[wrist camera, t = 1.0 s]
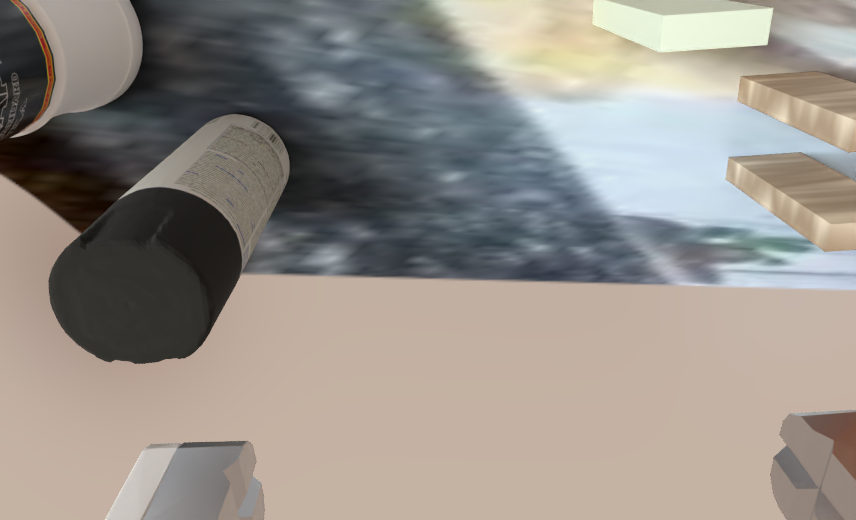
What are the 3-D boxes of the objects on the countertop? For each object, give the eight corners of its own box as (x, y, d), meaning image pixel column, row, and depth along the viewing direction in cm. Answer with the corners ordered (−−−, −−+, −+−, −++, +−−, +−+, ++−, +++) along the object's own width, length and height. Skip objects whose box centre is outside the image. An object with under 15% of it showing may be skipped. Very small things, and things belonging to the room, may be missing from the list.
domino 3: (728, 157, 44) (831, 224, 34) (800, 152, 44) (925, 217, 34) (725, 179, 45) (824, 251, 34) (796, 174, 45) (917, 245, 34)
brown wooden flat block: (740, 76, 42) (855, 120, 31) (816, 71, 42) (957, 113, 31) (737, 101, 43) (848, 152, 32) (811, 95, 43) (948, 145, 32)
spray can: (185, 111, 42) (18, 232, 24) (288, 110, 42) (199, 231, 24) (201, 205, 45) (63, 377, 27) (298, 204, 45) (224, 374, 27)
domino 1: (593, -3, 40) (662, 15, 29) (674, -9, 40) (773, 8, 29) (592, 24, 40) (659, 52, 30) (671, 18, 40) (767, 45, 30)
